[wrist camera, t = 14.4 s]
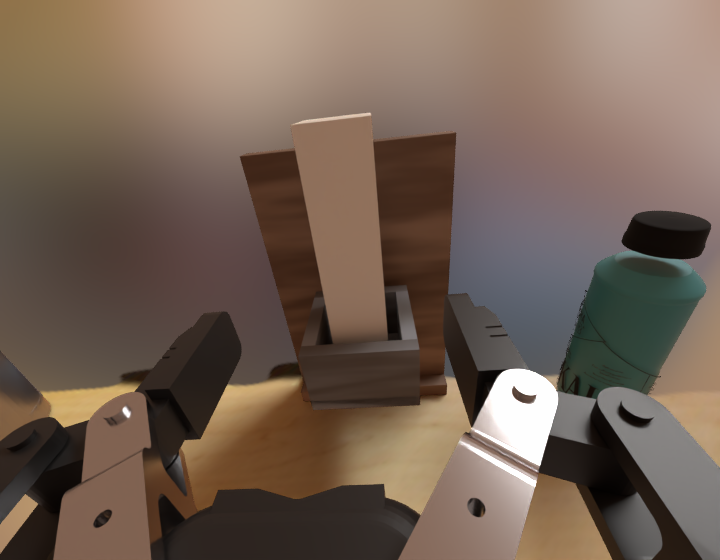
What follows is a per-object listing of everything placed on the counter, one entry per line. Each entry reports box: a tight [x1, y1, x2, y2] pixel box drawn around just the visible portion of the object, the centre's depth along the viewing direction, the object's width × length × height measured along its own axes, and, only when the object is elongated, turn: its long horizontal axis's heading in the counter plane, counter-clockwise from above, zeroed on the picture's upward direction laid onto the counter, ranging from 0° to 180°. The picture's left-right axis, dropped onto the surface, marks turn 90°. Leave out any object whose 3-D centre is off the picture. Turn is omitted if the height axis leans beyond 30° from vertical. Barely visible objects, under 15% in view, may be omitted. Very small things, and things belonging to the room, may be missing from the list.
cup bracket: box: [240, 131, 456, 410], centre depth 26 cm, size 12×16×26 cm
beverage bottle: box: [556, 211, 711, 399], centre depth 25 cm, size 6×7×20 cm
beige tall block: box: [290, 113, 388, 344], centre depth 21 cm, size 4×4×18 cm
